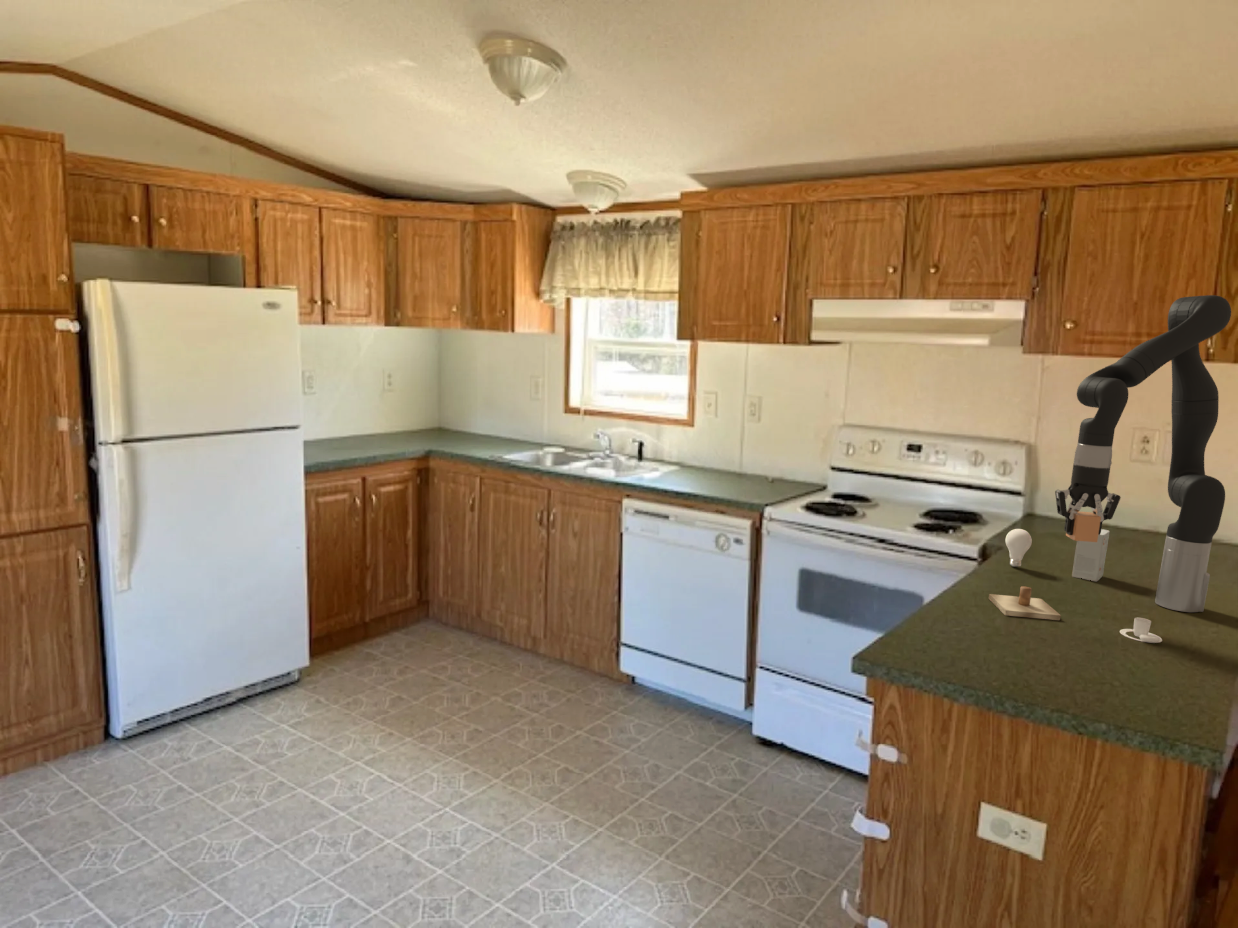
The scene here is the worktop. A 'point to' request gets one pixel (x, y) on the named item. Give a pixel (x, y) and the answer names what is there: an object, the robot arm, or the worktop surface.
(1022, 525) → the worktop surface
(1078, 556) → the small box
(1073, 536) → the salmon cube
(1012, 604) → the post base
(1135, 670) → the worktop surface
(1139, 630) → the white ring and cup
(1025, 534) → the light bulb
